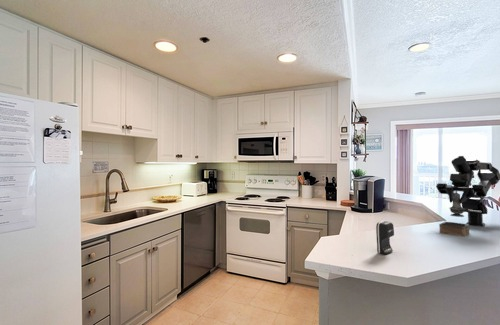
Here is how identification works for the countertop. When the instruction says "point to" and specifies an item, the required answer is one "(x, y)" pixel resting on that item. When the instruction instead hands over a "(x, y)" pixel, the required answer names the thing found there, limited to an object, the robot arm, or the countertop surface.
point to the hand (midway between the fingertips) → (455, 202)
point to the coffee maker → (384, 236)
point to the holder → (454, 228)
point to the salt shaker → (456, 206)
